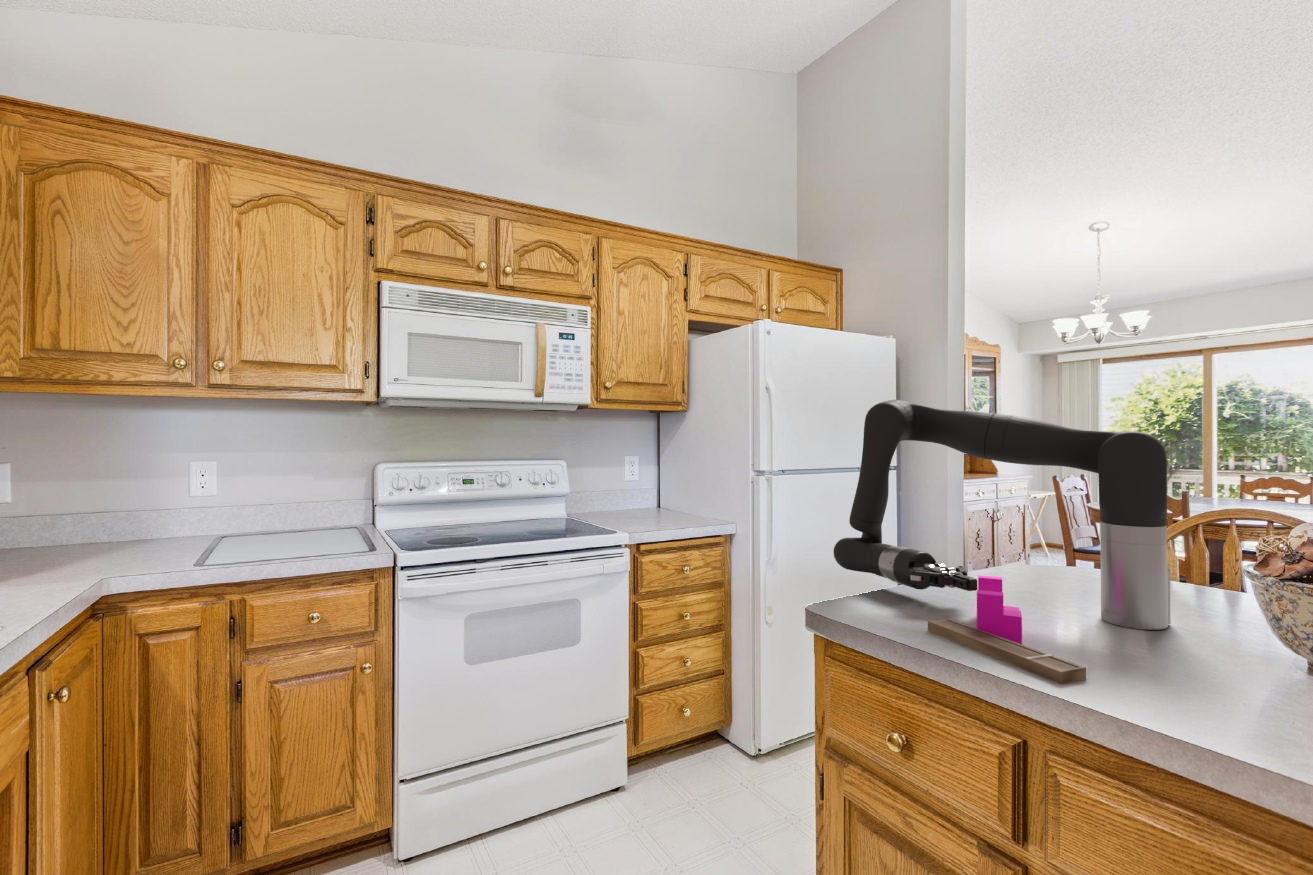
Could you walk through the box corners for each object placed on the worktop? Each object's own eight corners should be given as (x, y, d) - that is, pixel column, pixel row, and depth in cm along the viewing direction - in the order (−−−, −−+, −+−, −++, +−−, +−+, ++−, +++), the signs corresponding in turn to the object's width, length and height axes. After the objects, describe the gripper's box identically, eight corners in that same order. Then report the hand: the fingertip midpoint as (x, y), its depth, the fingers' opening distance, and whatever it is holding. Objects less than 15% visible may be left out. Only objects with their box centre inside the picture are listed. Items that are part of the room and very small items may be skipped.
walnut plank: (949, 628, 106) (949, 618, 106) (1086, 679, 83) (1086, 666, 83) (927, 630, 104) (927, 620, 104) (1060, 684, 81) (1060, 670, 81)
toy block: (1022, 646, 97) (1021, 597, 97) (977, 640, 100) (976, 593, 100) (1018, 621, 110) (1018, 578, 110) (978, 616, 113) (978, 575, 113)
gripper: (879, 550, 125) (944, 566, 109) (933, 546, 130) (1002, 561, 113) (880, 587, 125) (944, 609, 109) (933, 582, 129) (1003, 603, 113)
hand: (974, 585), depth 111 cm, fingers closed
